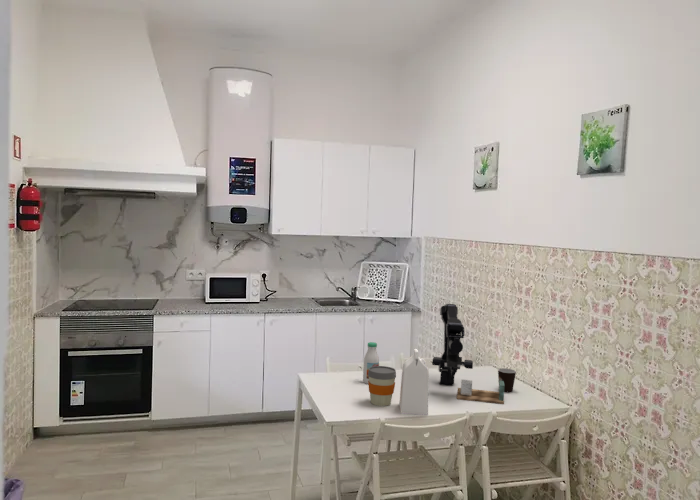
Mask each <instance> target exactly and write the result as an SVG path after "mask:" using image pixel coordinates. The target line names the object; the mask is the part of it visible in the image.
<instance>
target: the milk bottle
mask: <svg viewBox="0 0 700 500" xmlns="http://www.w3.org/2000/svg"><path fill="white" fill-rule="evenodd" d="M377 346H378V344H377V343H376V342H373V341H372V342H371V341H370V342H367V351H366V353H365V355H364V357H363V358H364V359H363V367H362V368H363V369H362V370H363V371H362V372H363V374H362V381H363V384H366V385H368V381H369V376H368V371H369V368H370V367H374V366H380V357H379V354H378V351H377V348H378V347H377Z"/></svg>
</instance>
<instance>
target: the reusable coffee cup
mask: <svg viewBox="0 0 700 500" xmlns="http://www.w3.org/2000/svg"><path fill="white" fill-rule="evenodd" d="M368 376H369V381H368V384H367V385H368V392H369V395H370V396H369V397H370V403H371V405H373V406H378V407H387V406H390V405H391V404H392V398H393V394H394V393H395V392H394V391H395V387H396V382H395V381H396V378H397V370H396V369H395V368H394V367H390V366H385V365H379V366H374V367H370V368H369V371H368Z"/></svg>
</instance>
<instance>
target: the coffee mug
mask: <svg viewBox="0 0 700 500" xmlns="http://www.w3.org/2000/svg"><path fill="white" fill-rule="evenodd" d="M497 374H498V375H497V376H498V382H499V381H504V385H505V387H504V393H513V390H514V386H515V379H516V374H517V370H515V369H512V368H507V367H506V368H502V367H501V368H498V369H497Z"/></svg>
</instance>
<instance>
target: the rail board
mask: <svg viewBox="0 0 700 500" xmlns="http://www.w3.org/2000/svg"><path fill="white" fill-rule="evenodd" d="M504 387H505V385H504V381H499V380H498V391H494V390H493V391H492V390H485V389H475V388H472V396H467V395H461V387H457V393H456V400H462V401H470V402H477V403H478V402H479V403H487V404H488V403H489V404H498V405H504V403H505V401H504V400H505V392H504Z"/></svg>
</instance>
